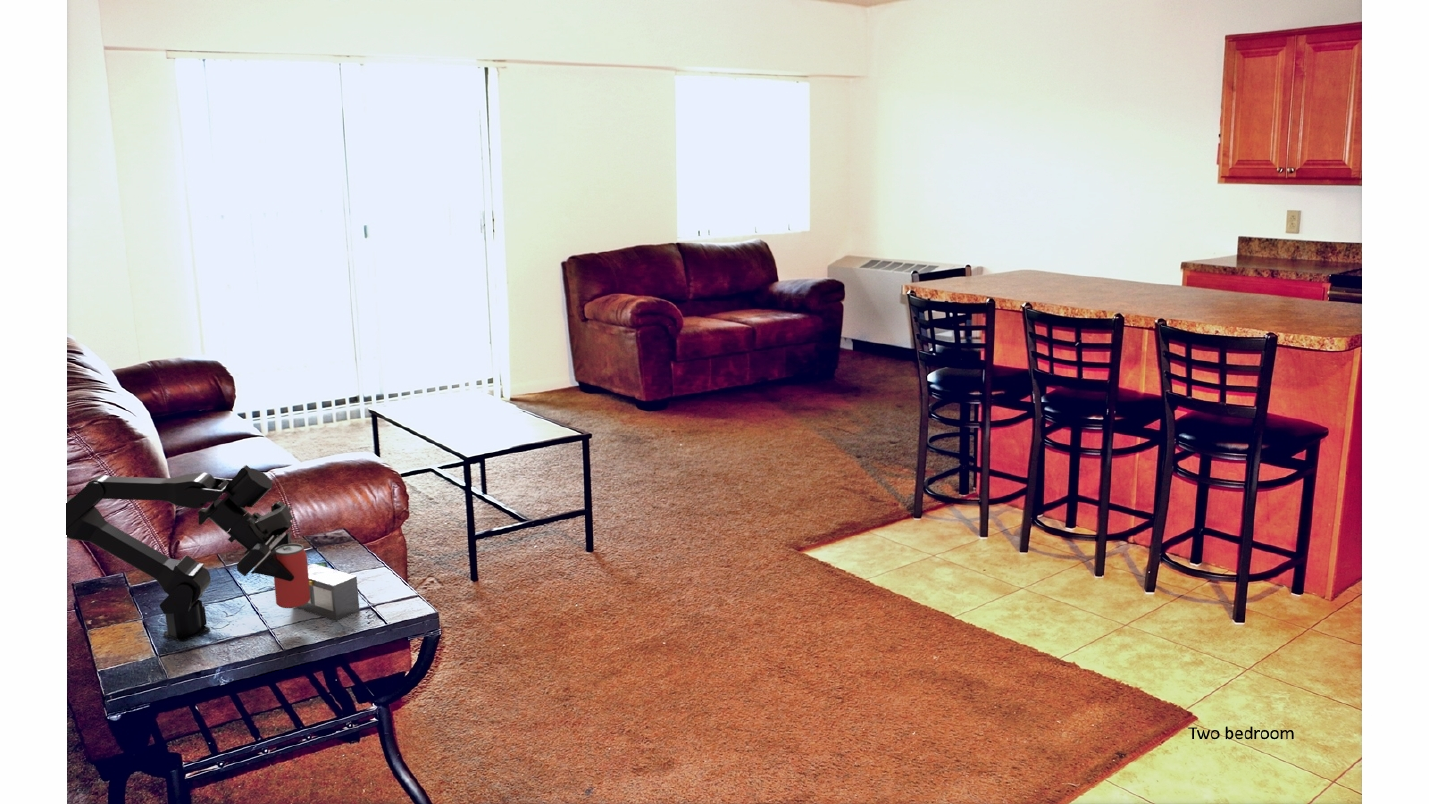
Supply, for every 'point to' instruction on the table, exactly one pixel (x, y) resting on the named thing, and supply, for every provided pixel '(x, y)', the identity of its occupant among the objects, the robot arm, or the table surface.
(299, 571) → the beer can
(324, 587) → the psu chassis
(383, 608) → the table surface
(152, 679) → the table surface
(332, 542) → the table surface
